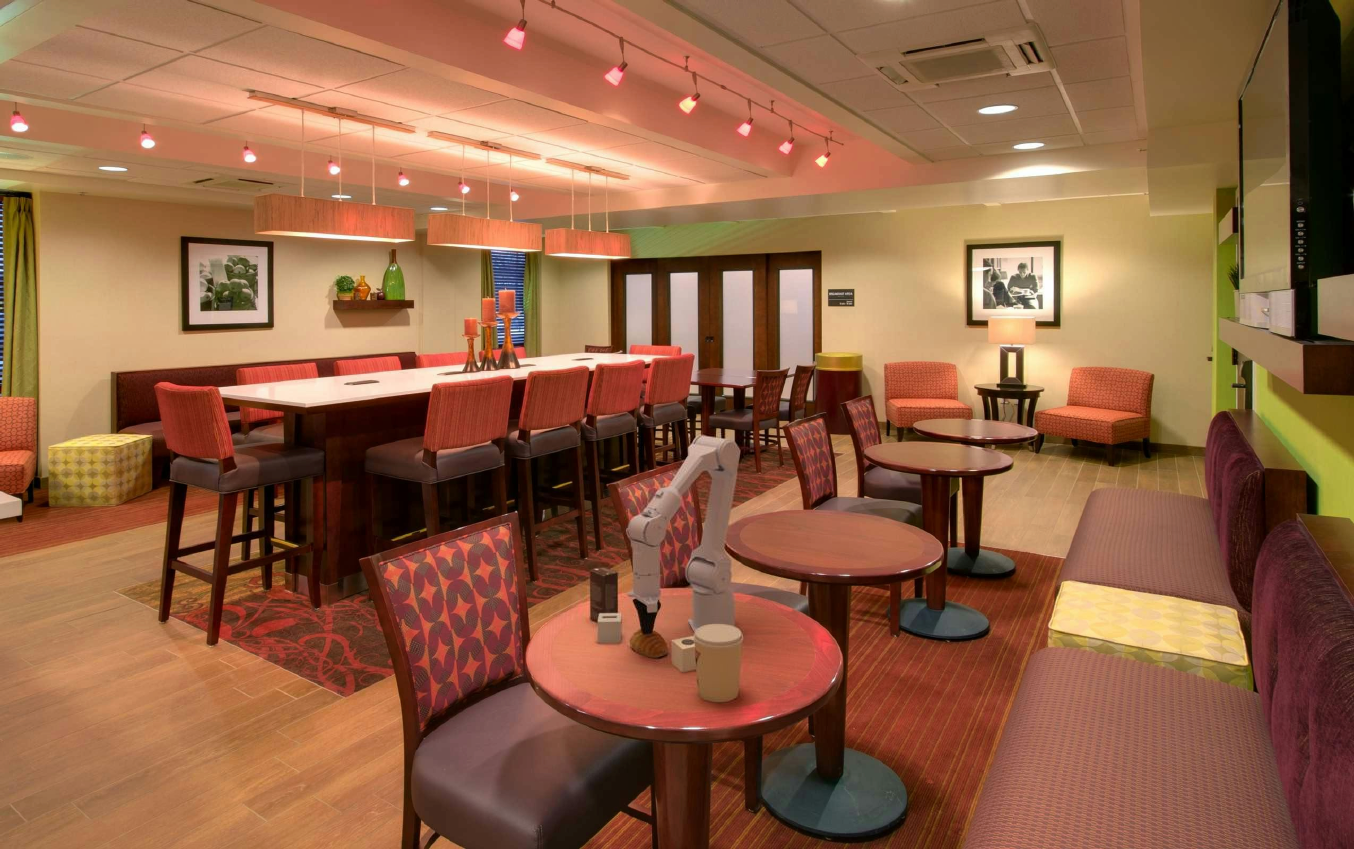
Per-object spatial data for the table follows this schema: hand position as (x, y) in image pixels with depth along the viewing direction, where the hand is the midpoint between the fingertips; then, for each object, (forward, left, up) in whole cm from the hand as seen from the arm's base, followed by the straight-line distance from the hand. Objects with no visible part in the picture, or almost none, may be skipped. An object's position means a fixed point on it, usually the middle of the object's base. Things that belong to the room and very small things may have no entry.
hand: (647, 632), depth 171 cm
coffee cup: (-10, +22, -4) cm, 25 cm away
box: (+7, -19, -4) cm, 21 cm away
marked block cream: (-7, +9, -4) cm, 12 cm away
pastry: (-1, -1, -4) cm, 5 cm away
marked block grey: (+7, -8, -4) cm, 11 cm away
